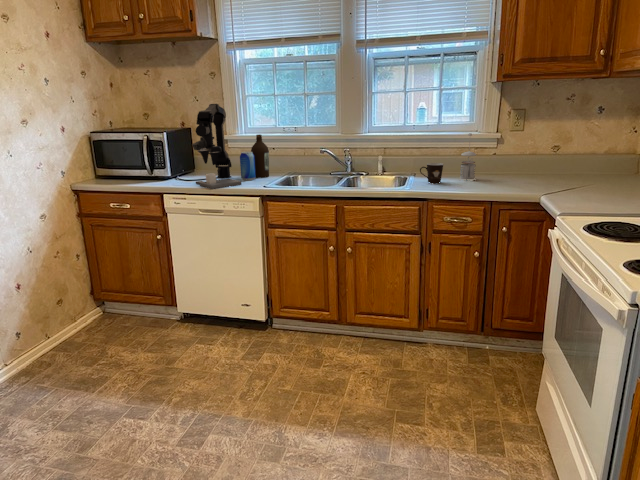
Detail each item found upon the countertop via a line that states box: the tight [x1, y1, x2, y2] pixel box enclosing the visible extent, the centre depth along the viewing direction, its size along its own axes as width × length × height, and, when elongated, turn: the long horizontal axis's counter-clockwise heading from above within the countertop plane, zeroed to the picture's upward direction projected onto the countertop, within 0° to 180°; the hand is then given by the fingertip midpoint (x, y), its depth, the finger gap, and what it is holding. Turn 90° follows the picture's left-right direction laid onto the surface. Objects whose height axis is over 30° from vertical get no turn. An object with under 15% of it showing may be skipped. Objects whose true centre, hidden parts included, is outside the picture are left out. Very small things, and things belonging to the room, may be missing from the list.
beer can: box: [239, 151, 256, 182], centre depth 280 cm, size 8×8×16 cm
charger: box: [205, 172, 217, 184], centre depth 264 cm, size 4×4×6 cm
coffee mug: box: [419, 162, 444, 184], centre depth 257 cm, size 12×9×10 cm
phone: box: [195, 180, 205, 186], centre depth 271 cm, size 4×7×1 cm, turn 40°
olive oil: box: [250, 134, 270, 179], centre depth 287 cm, size 11×11×25 cm
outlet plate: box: [199, 177, 242, 190], centre depth 265 cm, size 18×14×2 cm
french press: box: [459, 133, 477, 180], centre depth 260 cm, size 10×12×25 cm
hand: (209, 164), depth 262 cm, fingers open, 9 cm apart
